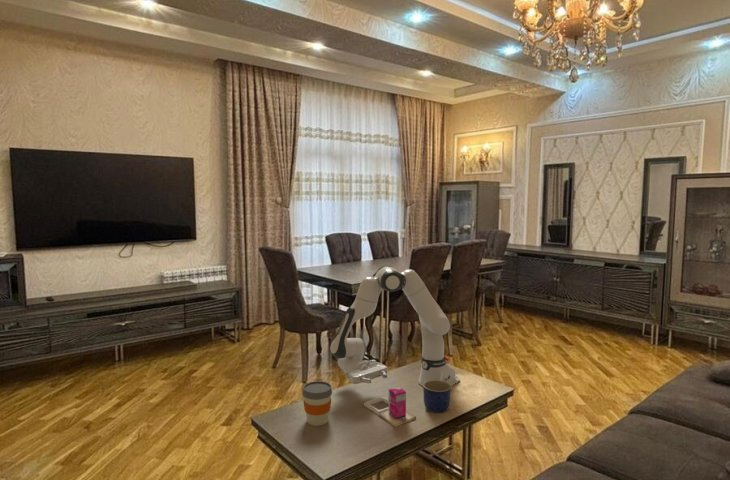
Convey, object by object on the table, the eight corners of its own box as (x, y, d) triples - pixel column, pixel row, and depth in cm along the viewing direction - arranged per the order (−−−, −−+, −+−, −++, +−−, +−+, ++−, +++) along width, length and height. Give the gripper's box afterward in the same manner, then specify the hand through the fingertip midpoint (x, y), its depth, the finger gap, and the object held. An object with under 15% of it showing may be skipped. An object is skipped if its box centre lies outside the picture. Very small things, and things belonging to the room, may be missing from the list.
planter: (455, 412, 200) (456, 388, 199) (431, 417, 195) (432, 393, 194) (441, 400, 211) (441, 378, 210) (418, 404, 207) (418, 382, 206)
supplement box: (387, 413, 196) (388, 388, 195) (399, 410, 199) (399, 386, 198) (394, 419, 191) (395, 393, 190) (406, 416, 194) (406, 391, 193)
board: (399, 408, 203) (399, 406, 203) (416, 418, 194) (416, 416, 194) (379, 416, 196) (379, 413, 196) (395, 426, 187) (395, 424, 187)
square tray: (382, 399, 212) (382, 396, 212) (397, 408, 203) (397, 405, 203) (364, 405, 206) (364, 402, 206) (378, 414, 197) (378, 411, 197)
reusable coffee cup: (337, 417, 194) (337, 384, 193) (320, 430, 183) (320, 395, 182) (314, 410, 201) (314, 378, 199) (296, 422, 190) (296, 389, 188)
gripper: (342, 368, 211) (359, 378, 199) (376, 358, 223) (394, 367, 211) (343, 381, 211) (359, 391, 200) (377, 371, 223) (394, 380, 212)
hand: (378, 379), depth 206 cm, fingers open, 8 cm apart
